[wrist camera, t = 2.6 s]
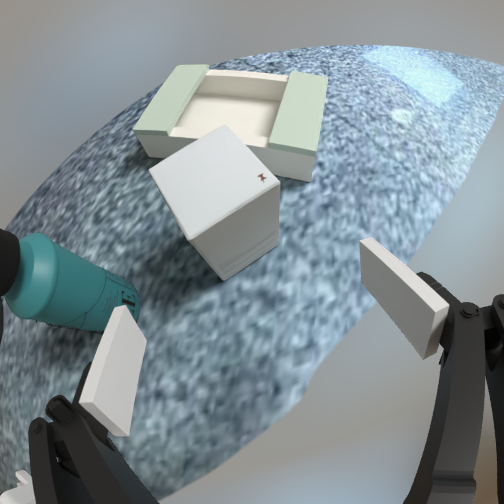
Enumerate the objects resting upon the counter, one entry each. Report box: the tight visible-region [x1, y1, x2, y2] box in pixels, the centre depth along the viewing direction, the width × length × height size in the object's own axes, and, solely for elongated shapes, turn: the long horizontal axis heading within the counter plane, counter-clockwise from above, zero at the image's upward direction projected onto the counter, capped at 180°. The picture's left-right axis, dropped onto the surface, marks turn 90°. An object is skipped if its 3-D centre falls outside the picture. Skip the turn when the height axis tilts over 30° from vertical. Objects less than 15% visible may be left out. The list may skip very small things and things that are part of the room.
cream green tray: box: [133, 65, 328, 182], centre depth 33 cm, size 22×14×6 cm, turn 75°
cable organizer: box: [0, 470, 36, 504], centre depth 15 cm, size 5×10×10 cm, turn 74°
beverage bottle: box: [0, 229, 140, 334], centre depth 20 cm, size 6×7×20 cm
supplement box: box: [149, 125, 280, 281], centre depth 25 cm, size 7×7×13 cm
